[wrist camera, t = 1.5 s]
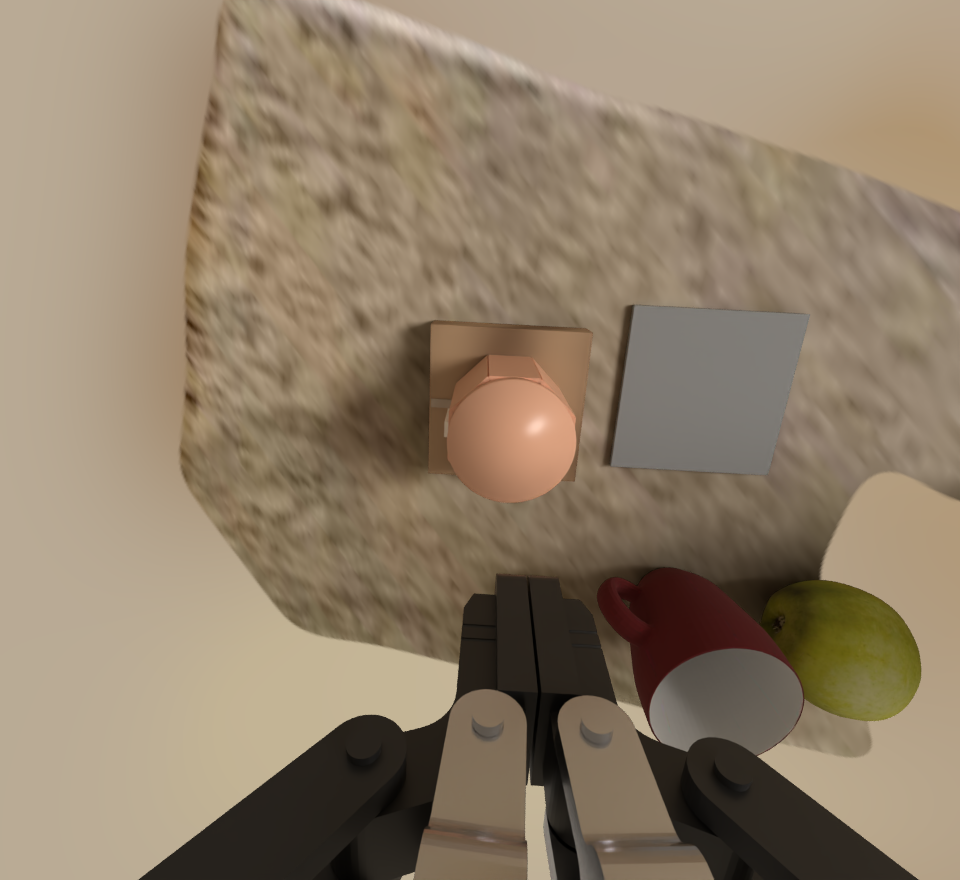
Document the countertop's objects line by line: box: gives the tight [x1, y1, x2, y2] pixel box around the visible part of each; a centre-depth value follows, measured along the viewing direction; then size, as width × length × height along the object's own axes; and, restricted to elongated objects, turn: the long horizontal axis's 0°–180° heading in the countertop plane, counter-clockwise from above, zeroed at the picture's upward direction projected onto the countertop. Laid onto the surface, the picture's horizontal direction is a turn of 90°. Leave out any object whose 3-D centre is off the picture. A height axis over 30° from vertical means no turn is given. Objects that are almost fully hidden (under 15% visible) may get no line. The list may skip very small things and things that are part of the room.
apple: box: [760, 580, 921, 721], centre depth 32 cm, size 8×9×8 cm
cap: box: [444, 355, 576, 503], centre depth 26 cm, size 6×6×6 cm
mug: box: [597, 568, 804, 756], centre depth 31 cm, size 10×8×10 cm
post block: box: [428, 320, 593, 481], centre depth 28 cm, size 9×9×7 cm
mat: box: [610, 305, 810, 475], centre depth 31 cm, size 10×10×1 cm
